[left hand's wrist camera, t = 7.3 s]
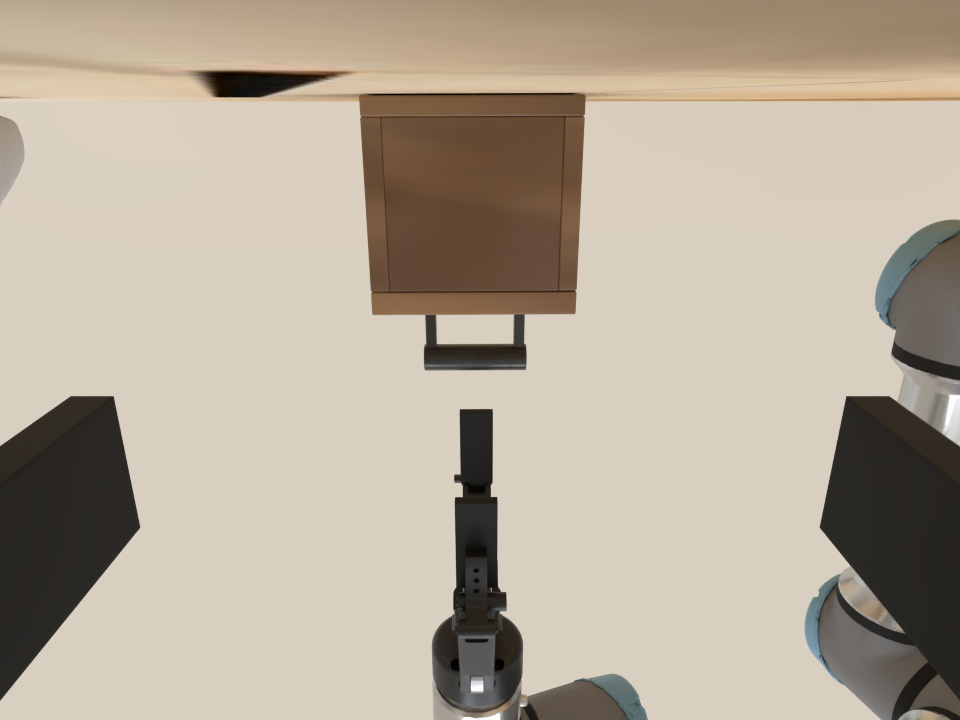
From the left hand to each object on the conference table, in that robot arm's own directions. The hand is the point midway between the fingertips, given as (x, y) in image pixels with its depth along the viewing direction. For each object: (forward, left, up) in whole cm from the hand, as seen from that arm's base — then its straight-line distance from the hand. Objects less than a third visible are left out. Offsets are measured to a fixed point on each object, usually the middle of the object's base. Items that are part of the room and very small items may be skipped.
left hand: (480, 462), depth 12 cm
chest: (+23, -16, -7) cm, 29 cm away
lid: (+24, -16, +2) cm, 29 cm away
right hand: (+28, -19, +17) cm, 38 cm away
